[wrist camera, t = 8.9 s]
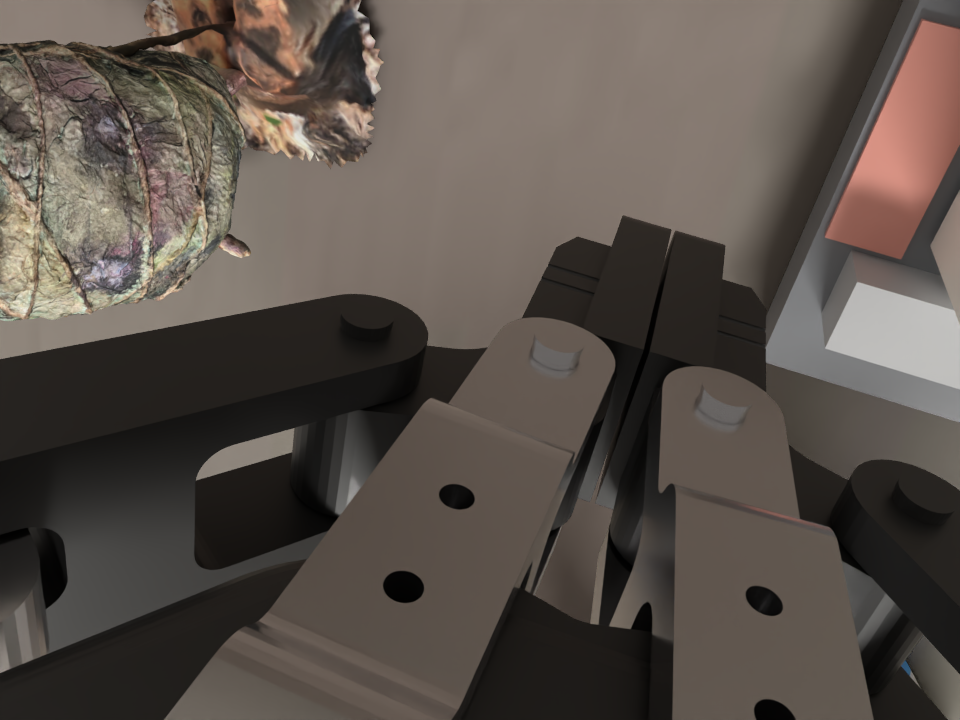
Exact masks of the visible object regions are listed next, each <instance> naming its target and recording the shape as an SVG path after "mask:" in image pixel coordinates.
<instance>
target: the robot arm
mask: <svg viewBox="0 0 960 720" xmlns="http://www.w3.org/2000/svg"><path fill="white" fill-rule="evenodd" d="M670 234H671V229H668V228H664V227H661V226H657V225H654V224H651V223H647V222H644V221H640V220H637V219H633V218H630V217H627V216H622V219H621V222H620V225H619V227H618V230H617V233H616V236H615V239H614V241H613V244H612V247H611V246H607V245H604V244H600V243H597V242H594V241H590V240H587V239H584V238H580V237H576V238H574V239H572V240H570V241H568V242H566V243H564V244H562V245H560V246H558V247H556V250H555V252H554V254H553V256H552V258H551V260H550V262H549V264H548V267H547V268H546V270H545V272H544V274H543V276H542V279H541V281H540V282H539V284H538V286H537V288H536V290H535V293H534V295H533V297H532V299H531V301H530V303H529V305H528V307H527V309H526V311H525V313H524V315H523V317H522V319H518V320H515V321H512V322H510V323H508V324H506V325H505V326H504V327H503V328H502V329H501V330H500V331H499V332H498V334H497V335H496V337H495V338H494V339H493V341H492V342H491V344H490V345H489V347H487V348H481V349H451V348H442V347H434V346H427V341H428V331H427V327H426V326H425V324H424V322H423V321H422V320H421V319H420V317H419V316H418V315H416V314H415V313H414V312H413V311H411V310H410V309H408V308H407V307H405V306H403V305H401V304H399V303H397V302H394V301H391V300H388V299H385V298H381V297H377V296H371V295H362V294H344V295H337V296H331V297H326V298H321V299H315V300H310V301H305V302H300V303H294V304H289V305H284V306H279V307H273V308H268V309H263V310H258V311H252V312H247V313H242V314H236V315H231V316H226V317H221V318H215V319H210V320H205V321H200V322H194V323H189V324H184V325H179V326H173V327H168V328H163V329H158V330H152V331H147V332H142V333H136V334H131V335H126V336H121V337H115V338H110V339H105V340H100V341H94V342H89V343H84V344H79V345H73V346H68V347H63V348H57V349H52V350H47V351H42V352H36V353H31V354H26V355H21V356H15V357H10V358H5V359H0V720H947V719H946V717H945V716H944V715H943V714H942V713H941V712H940V710H939V709H938V708H937V707H936V706H935V705H934V704H933V702H932V701H931V700H930V699H929V698H928V697H927V695H926V694H925V693H924V692H923V691H922V690H921V688H920V687H919V686H918V685H917V684H916V683H915V682H914V680H913V679H912V678H911V677H910V676H909V675H908V673H907V672H906V671H905V670H904V669H903V668H902V666H901V665H902V664H903V663H904V661H905V660H906V658H907V657H908V656H909V654H910V653H911V651H912V650H913V649H914V647H915V646H916V645H917V643H918V642H919V640H920V639H921V638H922V636H923V635H925V637H926V638H927V639H928V640H929V641H930V642H931V643H932V644H933V645H934V646H935V648H936V649H937V650H938V651H939V652H940V653H941V654H942V655H943V656H944V657H945V658H946V660H947V661H948V662H949V663H950V664H951V665H952V666H953V667H954V668H955V669H956V670H957V672H958V673H959V674H960V491H959V490H958V489H957V488H955V487H954V486H952V485H951V484H949V483H948V482H947V481H945V480H943V479H941V478H940V477H938V476H936V475H934V474H932V473H930V472H928V471H926V470H924V469H921V468H918V467H916V466H913V465H910V464H906V463H903V462H898V461H892V460H871V461H868V462H864V463H862V464H861V465H859V466H858V467H857V468H856V469H855V470H854V472H853V473H852V475H851V477H850V479H849V480H846V479H844V478H842V477H841V476H839V475H837V474H835V473H833V472H831V471H829V470H827V469H825V468H824V467H822V466H820V465H818V464H816V463H814V462H813V461H811V460H809V459H807V458H806V457H804V456H803V455H801V454H800V453H799V452H797V451H796V450H795V449H793V448H792V447H791V446H790V445H788V439H787V433H786V426H785V420H784V416H783V413H782V411H781V409H780V407H779V406H778V405H777V403H776V402H775V401H774V400H773V399H772V398H771V397H770V396H769V395H768V394H767V393H766V349H765V346H766V333H765V330H766V309H765V307H764V306H763V304H762V303H761V301H760V300H759V298H758V297H757V296H756V294H755V293H754V291H753V290H752V288H750V287H746V286H743V285H739V284H736V283H733V282H729V281H726V280H723V279H722V276H723V265H724V255H725V245H723V244H720V243H716V242H713V241H709V240H706V239H703V238H699V237H696V236H692V235H689V234H685V233H682V232H679V231H675V233H674V235H673V238H672V240H671V243H670V246H669V249H668V252H667V255H666V251H667V247H668V243H669V238H670ZM665 256H666V257H665ZM292 428H295V429H294V439H293V450H292V453H289V454H285V455H282V456H278V457H275V458H272V459H268V460H265V461H261V462H258V463H255V464H251V465H248V466H244V467H241V468H238V469H234V470H231V471H227V472H224V473H221V474H217V475H214V476H210V477H207V478H204V479H200V480H197V481H196V477H197V474H198V472H199V470H200V468H201V467H202V466H203V464H204V463H205V462H206V461H207V460H208V459H209V458H210V457H211V456H212V455H214V454H215V453H216V452H218V451H220V450H221V449H224V448H226V447H228V446H231V445H234V444H238V443H242V442H245V441H249V440H252V439H256V438H260V437H263V436H267V435H270V434H274V433H278V432H281V431H285V430H288V429H292ZM607 452H608V454H607ZM606 455H607V458H606ZM605 458H606V462H605V466H604V470H603V474H602V478H601V482H600V486H599V490H598V494H597V498H596V502H595V504H598V505H601V506H604V507H607V508H610V509H613V514H612V518H611V522H610V525H609V527H608V530H607V533H606V535H605V538H604V541H603V543H602V546H601V549H600V551H599V555H598V562H597V570H596V579H595V587H594V596H593V604H592V613H591V621H590V623H585V622H582V621H579V620H576V619H574V618H572V617H570V616H568V615H567V614H565V613H563V612H561V611H560V610H558V609H556V608H555V607H553V606H551V605H549V604H548V603H546V602H544V601H543V600H541V599H539V598H537V597H536V596H535V594H536V591H537V589H538V586H539V584H540V582H541V579H542V577H543V574H544V572H545V569H546V567H547V565H548V562H549V560H550V557H551V555H552V552H553V550H554V548H555V545H556V543H557V540H558V537H559V534H560V531H561V528H562V525H563V524H564V523H566V522H567V521H568V519H569V518H570V517H571V514H572V512H573V510H574V507H575V504H576V501H577V498H579V499H582V500H585V501H588V502H590V501H591V498H592V495H593V492H594V489H595V486H596V484H597V481H598V478H599V475H600V472H601V469H602V467H603V464H604V461H605Z"/></svg>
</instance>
